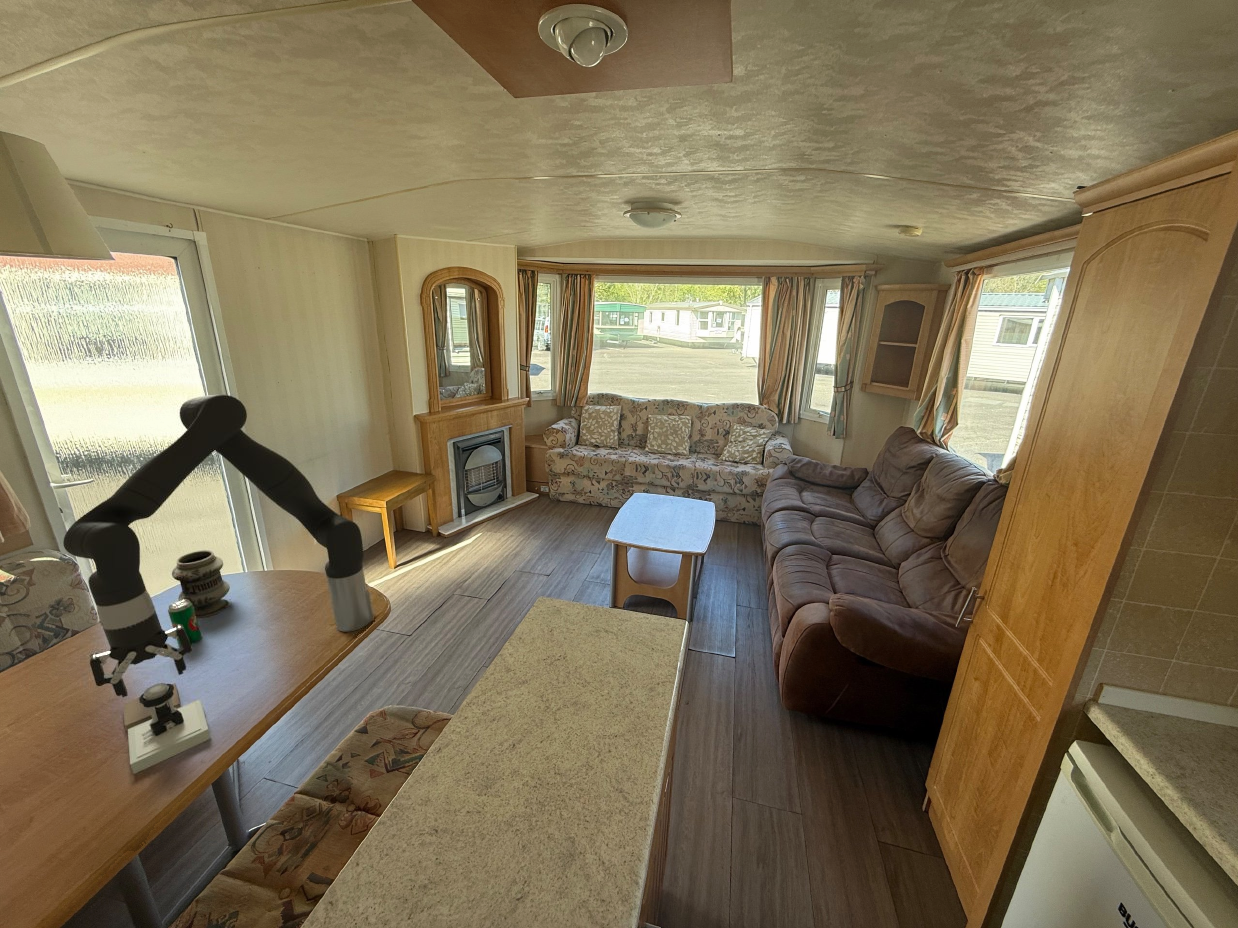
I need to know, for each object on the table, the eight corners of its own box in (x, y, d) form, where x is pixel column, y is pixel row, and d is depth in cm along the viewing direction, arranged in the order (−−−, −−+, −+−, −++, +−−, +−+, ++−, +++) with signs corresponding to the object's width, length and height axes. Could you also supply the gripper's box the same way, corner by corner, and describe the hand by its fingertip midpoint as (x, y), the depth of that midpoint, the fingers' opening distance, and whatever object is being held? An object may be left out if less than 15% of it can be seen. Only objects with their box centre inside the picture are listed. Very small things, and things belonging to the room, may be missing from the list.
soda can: (174, 644, 135) (162, 606, 131) (195, 633, 139) (184, 596, 136) (185, 648, 133) (173, 610, 129) (206, 638, 137) (195, 600, 134)
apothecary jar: (212, 620, 145) (197, 566, 140) (172, 620, 145) (155, 566, 140) (243, 598, 156) (230, 547, 151) (206, 597, 157) (191, 546, 151)
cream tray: (202, 707, 113) (199, 698, 112) (210, 738, 105) (207, 728, 104) (131, 738, 105) (127, 728, 104) (133, 773, 97) (130, 763, 96)
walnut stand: (177, 689, 119) (175, 683, 118) (181, 710, 112) (179, 703, 112) (126, 710, 112) (123, 703, 112) (127, 732, 106) (124, 725, 106)
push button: (149, 746, 100) (135, 706, 97) (138, 735, 102) (124, 696, 99) (189, 723, 106) (177, 685, 103) (177, 713, 108) (165, 676, 105)
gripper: (174, 593, 103) (195, 657, 108) (76, 624, 93) (104, 692, 98) (178, 608, 98) (200, 674, 103) (75, 641, 88) (105, 713, 93)
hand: (153, 683), depth 101 cm, fingers open, 8 cm apart
